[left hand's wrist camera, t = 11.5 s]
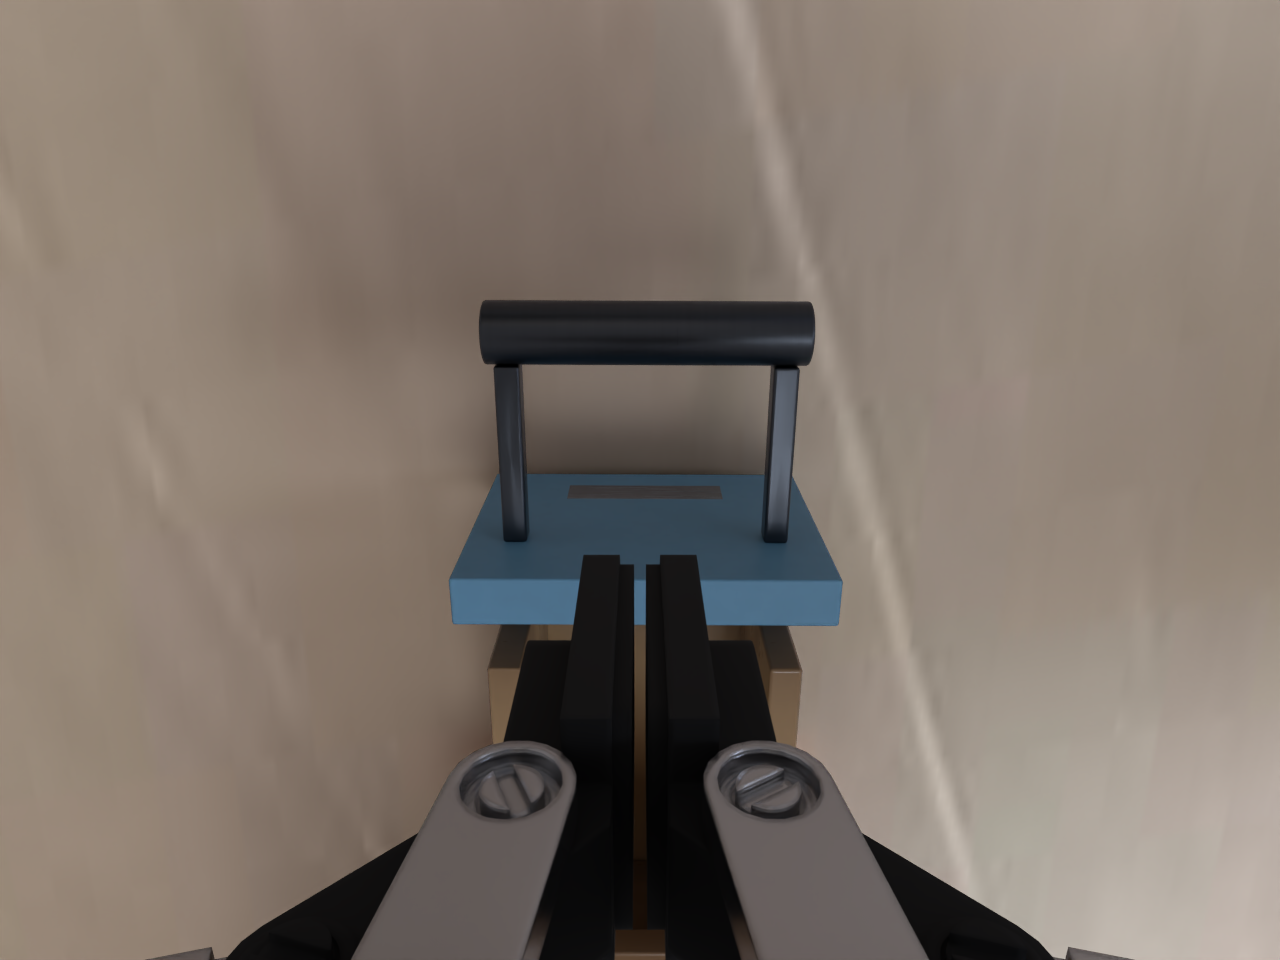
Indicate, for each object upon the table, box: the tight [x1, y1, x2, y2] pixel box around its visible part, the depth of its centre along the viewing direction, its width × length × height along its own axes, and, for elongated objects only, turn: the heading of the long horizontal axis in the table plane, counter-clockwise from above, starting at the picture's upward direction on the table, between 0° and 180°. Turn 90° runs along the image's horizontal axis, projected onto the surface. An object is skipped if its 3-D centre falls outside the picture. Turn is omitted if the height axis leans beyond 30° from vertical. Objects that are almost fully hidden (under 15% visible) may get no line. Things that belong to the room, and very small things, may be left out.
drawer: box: [449, 300, 843, 929], centre depth 24 cm, size 21×9×7 cm, turn 0°
